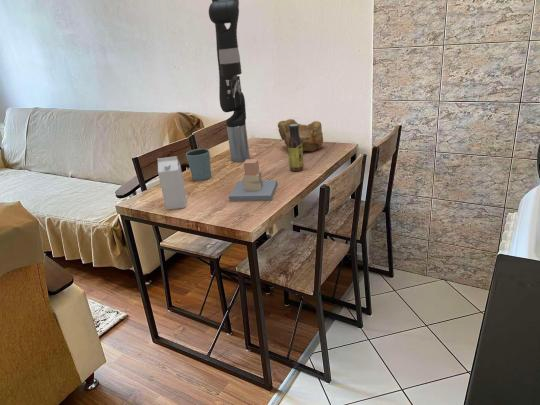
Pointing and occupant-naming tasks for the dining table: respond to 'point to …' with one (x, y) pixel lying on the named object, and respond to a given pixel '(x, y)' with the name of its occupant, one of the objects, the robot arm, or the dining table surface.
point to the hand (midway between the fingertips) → (235, 106)
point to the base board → (254, 192)
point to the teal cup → (199, 164)
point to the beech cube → (253, 182)
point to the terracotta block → (251, 167)
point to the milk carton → (172, 183)
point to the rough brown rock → (303, 134)
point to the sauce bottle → (295, 149)
